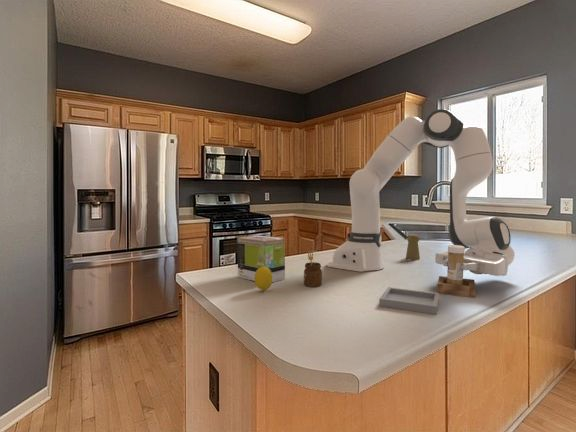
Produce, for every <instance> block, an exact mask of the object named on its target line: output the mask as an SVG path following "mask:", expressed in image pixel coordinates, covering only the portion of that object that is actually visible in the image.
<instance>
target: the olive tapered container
mask: <svg viewBox="0 0 576 432" xmlns="http://www.w3.org/2000/svg"><path fill="white" fill-rule="evenodd" d="M406 241H407V248H406V255H405V259H406V260H408V259H410V260H409V261H419V259H421V257H420V250H419V248H420V247H419V242H420V236H419V235H418V234H415V233H412V234H408V235H407V237H406Z"/></svg>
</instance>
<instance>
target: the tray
mask: <svg viewBox="0 0 576 432" xmlns="http://www.w3.org/2000/svg"><path fill="white" fill-rule="evenodd" d="M439 303H440V293H437V292H434V291H433V292H431V291H423V290H416V289H415V290H414V289H407V288H400V287H398V288H397V287H390V286H389V287H387V288H386V289H385V291H384V292H383V293H382V295H381V296H380V297H379V299H378V305H379V307H385V308H389V309H390V308H391V309H396V310H397V309H398V310H404V311H411V312H416V313H417V312H418V313H424V314H429V315H431V314H432V315H437V312H438V307H439Z"/></svg>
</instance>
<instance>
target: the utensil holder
mask: <svg viewBox="0 0 576 432" xmlns="http://www.w3.org/2000/svg"><path fill="white" fill-rule="evenodd" d="M318 255H319V253H318V251H317V250H315V251H313V250H307V257H308V258H307V259H308V260H309V262H306V263H305V264H304V270H303V284H304V286H306V287H310V288H317V287H320V286H321V285H322V284H323V271H322V269H321V267H322V265H321V263H319V262H318V259H319V257H318ZM314 259H316V261H314Z"/></svg>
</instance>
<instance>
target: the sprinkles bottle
mask: <svg viewBox="0 0 576 432" xmlns="http://www.w3.org/2000/svg"><path fill="white" fill-rule="evenodd" d="M447 252H448V267H447V273H446V274H447V276H446V277H447V284H456V285H462V283H463V279H464V270H461V264H463V262H464V253H465V252H466V249H465V247H464V246H460V245H454V244H449V245H447Z"/></svg>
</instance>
